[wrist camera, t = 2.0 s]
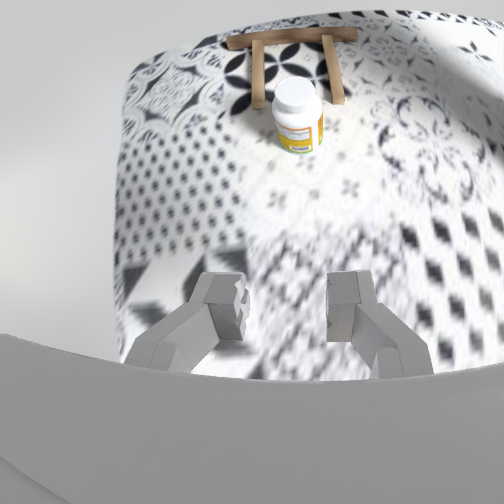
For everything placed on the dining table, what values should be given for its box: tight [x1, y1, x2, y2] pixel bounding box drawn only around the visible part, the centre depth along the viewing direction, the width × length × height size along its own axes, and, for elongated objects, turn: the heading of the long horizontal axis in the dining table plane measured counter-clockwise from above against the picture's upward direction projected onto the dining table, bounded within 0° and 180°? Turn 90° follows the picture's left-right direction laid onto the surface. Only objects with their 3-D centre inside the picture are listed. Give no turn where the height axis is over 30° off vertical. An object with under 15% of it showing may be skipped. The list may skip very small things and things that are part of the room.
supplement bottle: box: [272, 76, 323, 155], centre depth 32 cm, size 5×5×10 cm
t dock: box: [226, 27, 358, 109], centre depth 38 cm, size 20×14×2 cm
